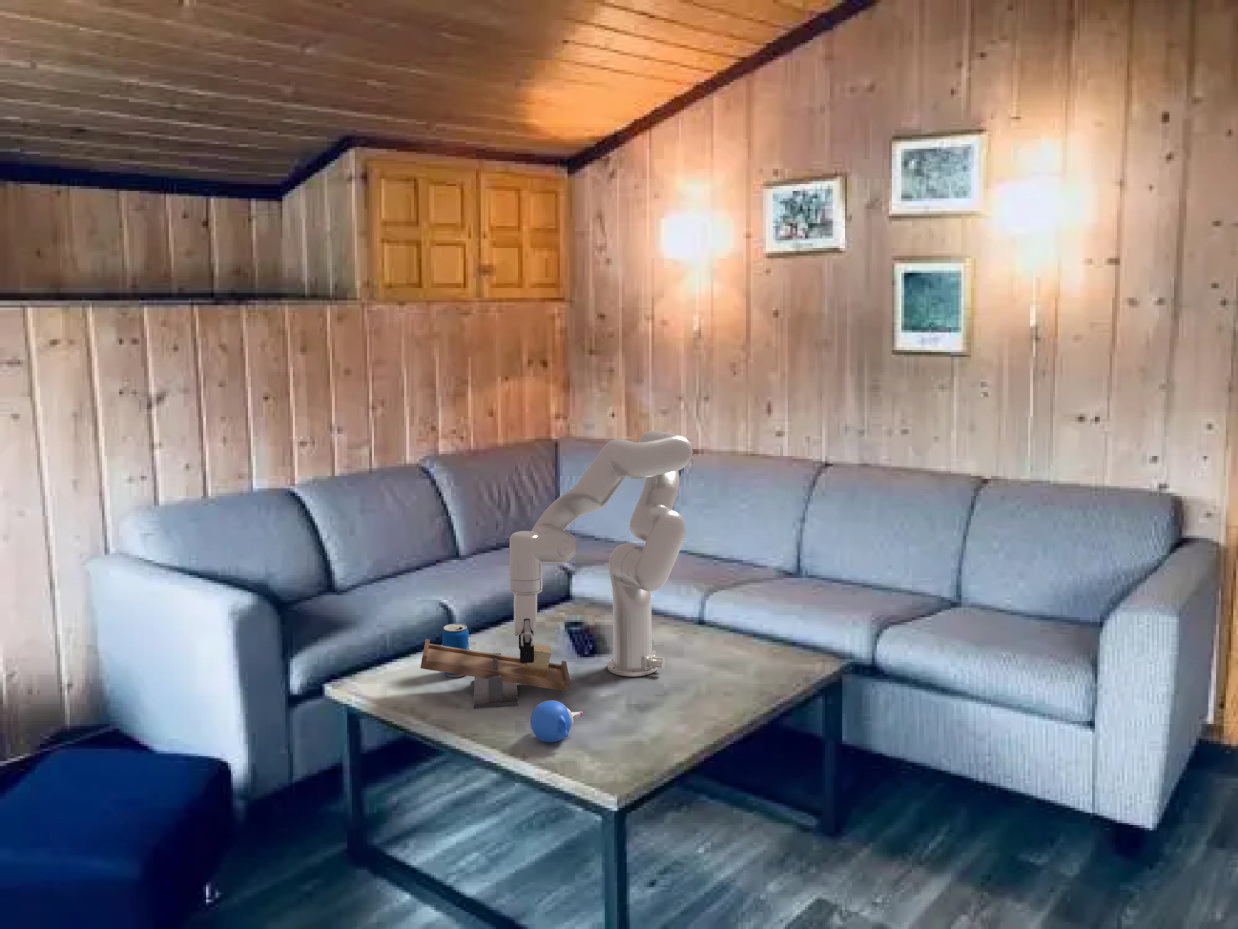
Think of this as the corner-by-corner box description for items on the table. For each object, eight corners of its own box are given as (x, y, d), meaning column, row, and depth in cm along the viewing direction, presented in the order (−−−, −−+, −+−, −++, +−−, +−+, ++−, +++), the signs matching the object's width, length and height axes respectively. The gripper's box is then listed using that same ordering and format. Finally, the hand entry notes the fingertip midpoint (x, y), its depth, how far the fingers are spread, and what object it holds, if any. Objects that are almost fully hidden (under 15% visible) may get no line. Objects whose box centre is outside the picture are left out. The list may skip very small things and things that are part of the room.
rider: (544, 670, 251) (549, 646, 251) (546, 677, 247) (551, 653, 246) (524, 666, 251) (529, 643, 250) (524, 674, 246) (529, 649, 245)
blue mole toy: (597, 741, 220) (596, 703, 219) (547, 755, 214) (546, 716, 213) (569, 722, 231) (568, 685, 229) (520, 735, 224) (519, 697, 223)
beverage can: (465, 679, 257) (463, 631, 256) (439, 677, 259) (437, 630, 257) (473, 670, 264) (472, 623, 262) (449, 668, 265) (447, 622, 263)
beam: (563, 673, 256) (565, 660, 256) (567, 693, 244) (569, 680, 243) (423, 650, 251) (425, 638, 251) (419, 670, 238) (422, 656, 238)
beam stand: (516, 678, 258) (515, 651, 257) (518, 706, 240) (517, 677, 239) (474, 680, 257) (473, 653, 255) (473, 708, 239) (472, 680, 238)
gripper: (509, 575, 253) (509, 644, 256) (510, 595, 236) (510, 668, 239) (540, 575, 254) (540, 643, 256) (544, 594, 237) (544, 667, 239)
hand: (526, 655), depth 248 cm, fingers open, 9 cm apart
